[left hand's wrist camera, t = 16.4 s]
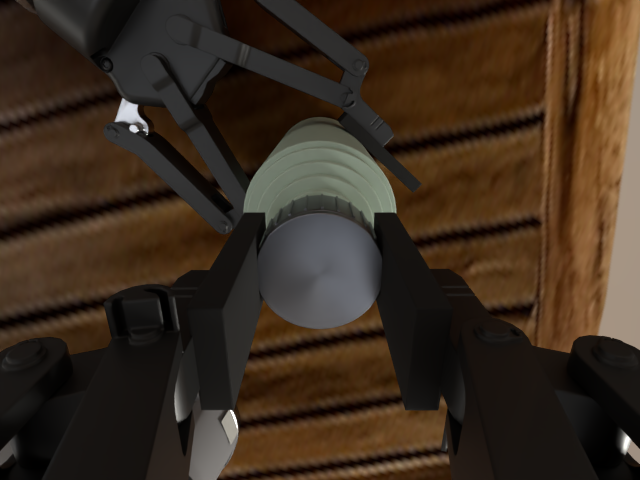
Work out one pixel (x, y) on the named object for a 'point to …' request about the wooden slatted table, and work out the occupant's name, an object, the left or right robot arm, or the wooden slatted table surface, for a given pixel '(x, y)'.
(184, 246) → the wooden slatted table surface
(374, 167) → the bottle
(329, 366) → the wooden slatted table surface
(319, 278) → the cap
